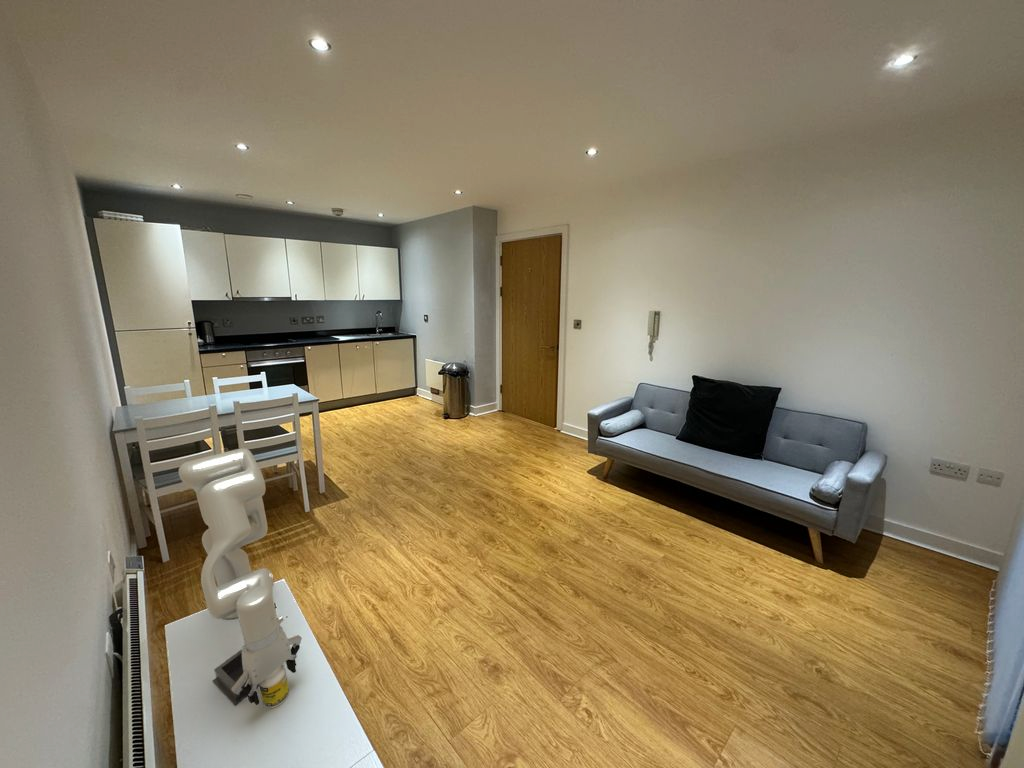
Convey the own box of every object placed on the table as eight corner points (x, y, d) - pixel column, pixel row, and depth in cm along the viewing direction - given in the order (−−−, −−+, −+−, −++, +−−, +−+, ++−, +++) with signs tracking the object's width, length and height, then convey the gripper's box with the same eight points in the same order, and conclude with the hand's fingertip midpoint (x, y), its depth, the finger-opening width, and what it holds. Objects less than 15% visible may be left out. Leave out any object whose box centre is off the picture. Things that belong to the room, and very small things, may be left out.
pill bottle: (259, 711, 104) (251, 680, 101) (268, 688, 110) (261, 657, 107) (285, 706, 106) (278, 675, 102) (293, 683, 111) (286, 653, 108)
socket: (212, 682, 112) (209, 670, 110) (257, 648, 121) (255, 637, 120) (235, 706, 106) (231, 693, 104) (280, 668, 116) (277, 656, 114)
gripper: (287, 604, 110) (297, 652, 115) (216, 654, 96) (231, 707, 101) (303, 616, 107) (313, 665, 112) (232, 670, 93) (247, 723, 97)
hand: (274, 685), depth 106 cm, fingers open, 9 cm apart
